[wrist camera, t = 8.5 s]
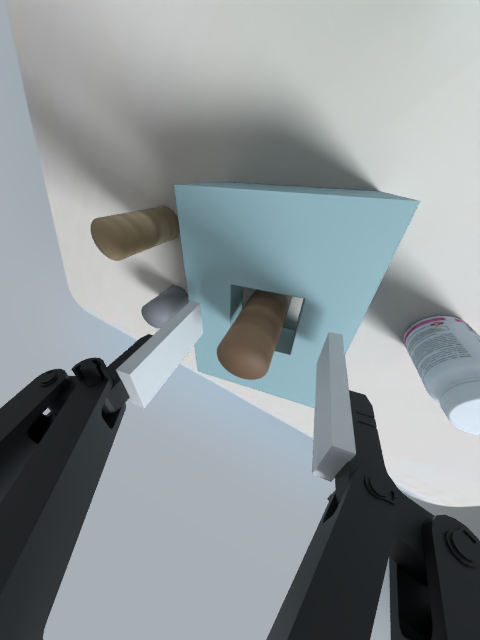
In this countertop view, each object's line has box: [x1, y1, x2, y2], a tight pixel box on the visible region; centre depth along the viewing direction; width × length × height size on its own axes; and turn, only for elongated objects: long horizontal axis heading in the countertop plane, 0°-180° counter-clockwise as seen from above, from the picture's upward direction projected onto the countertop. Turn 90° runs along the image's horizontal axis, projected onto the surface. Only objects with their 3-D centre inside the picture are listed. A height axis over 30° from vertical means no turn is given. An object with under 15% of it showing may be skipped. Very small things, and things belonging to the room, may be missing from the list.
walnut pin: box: [217, 289, 292, 380], centre depth 16 cm, size 3×3×12 cm
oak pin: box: [91, 207, 179, 261], centre depth 19 cm, size 3×3×8 cm
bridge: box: [174, 182, 420, 408], centre depth 18 cm, size 16×12×8 cm
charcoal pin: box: [142, 286, 189, 328], centre depth 25 cm, size 3×3×5 cm
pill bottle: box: [404, 316, 480, 435], centre depth 16 cm, size 5×5×8 cm
